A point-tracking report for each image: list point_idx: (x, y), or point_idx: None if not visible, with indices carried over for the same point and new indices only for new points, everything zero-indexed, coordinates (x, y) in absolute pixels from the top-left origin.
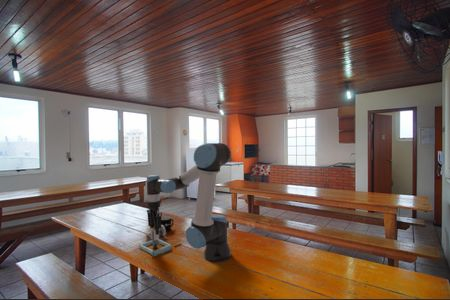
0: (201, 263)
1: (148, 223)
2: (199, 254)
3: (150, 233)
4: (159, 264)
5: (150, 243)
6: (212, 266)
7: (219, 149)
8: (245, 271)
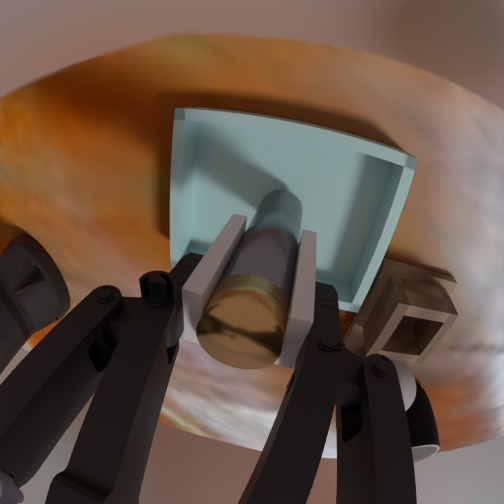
0: (21, 206)
1: (395, 394)
2: (66, 260)
3: (439, 339)
4: (93, 80)
5: (371, 245)
6: (4, 209)
7: None
8: None
